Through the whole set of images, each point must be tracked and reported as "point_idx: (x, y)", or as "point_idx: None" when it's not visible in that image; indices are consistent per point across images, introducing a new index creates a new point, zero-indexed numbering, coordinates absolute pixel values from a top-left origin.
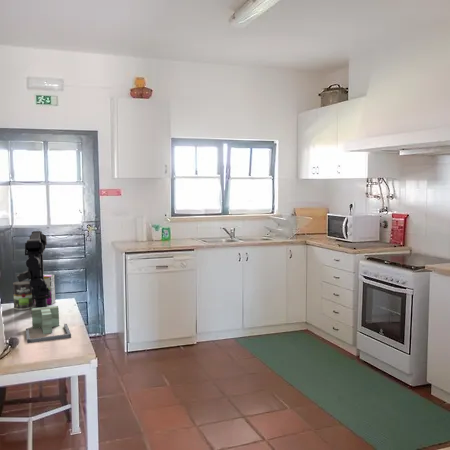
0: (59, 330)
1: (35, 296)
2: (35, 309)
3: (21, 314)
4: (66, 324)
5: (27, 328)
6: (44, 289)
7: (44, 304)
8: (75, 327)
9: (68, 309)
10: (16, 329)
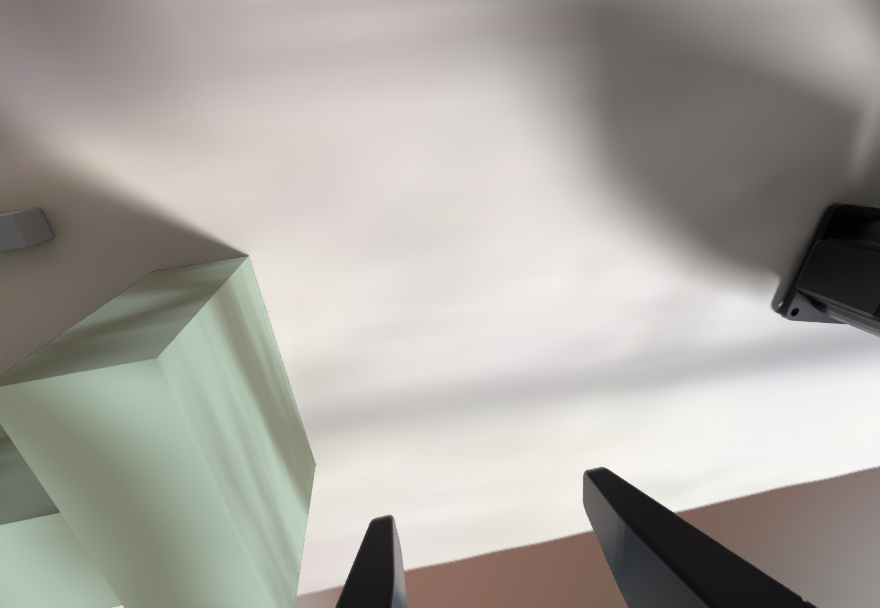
0: None
1: (365, 547)
2: (77, 432)
3: (790, 73)
4: None
5: (14, 236)
6: None
7: (860, 321)
8: None
9: (712, 469)
10: (152, 74)
